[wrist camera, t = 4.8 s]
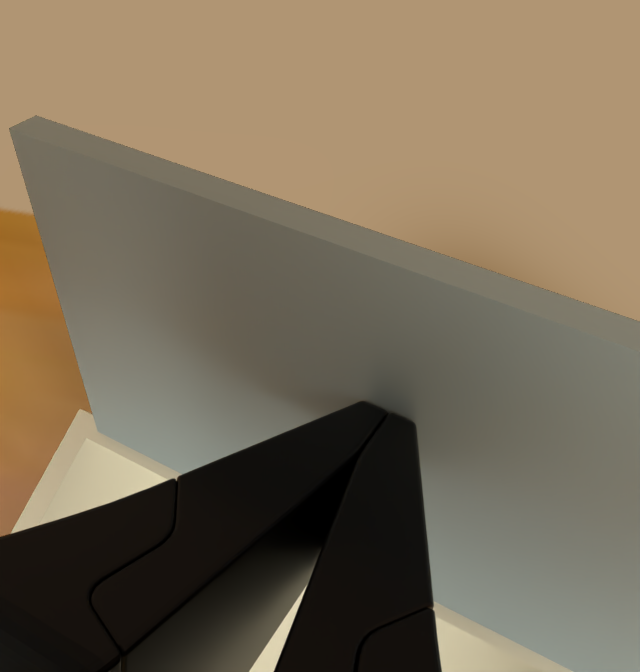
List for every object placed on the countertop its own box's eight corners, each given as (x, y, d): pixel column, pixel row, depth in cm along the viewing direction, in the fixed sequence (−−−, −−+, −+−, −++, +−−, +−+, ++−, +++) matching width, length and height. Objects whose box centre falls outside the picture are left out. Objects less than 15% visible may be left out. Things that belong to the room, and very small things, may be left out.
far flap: (1117, 521, 5) (1092, 475, 5) (9, 128, 8) (36, 115, 9) (695, 733, 10) (695, 702, 10) (97, 431, 13) (113, 415, 14)
